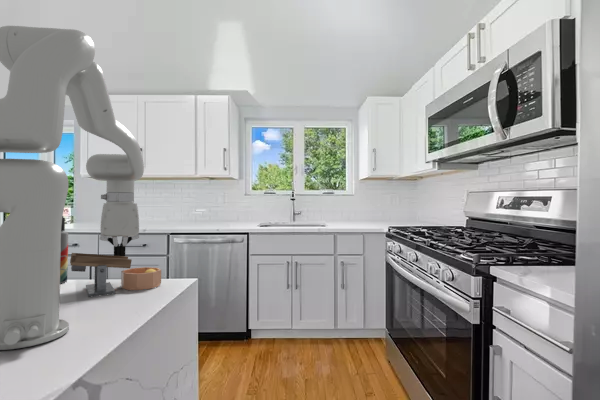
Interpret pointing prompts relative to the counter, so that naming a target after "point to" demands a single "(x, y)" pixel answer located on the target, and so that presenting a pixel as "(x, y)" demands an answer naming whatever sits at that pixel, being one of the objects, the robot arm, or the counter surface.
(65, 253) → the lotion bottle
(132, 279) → the terracotta bowl
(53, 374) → the counter surface
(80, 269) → the tilt chute
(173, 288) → the counter surface
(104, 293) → the chute stand
